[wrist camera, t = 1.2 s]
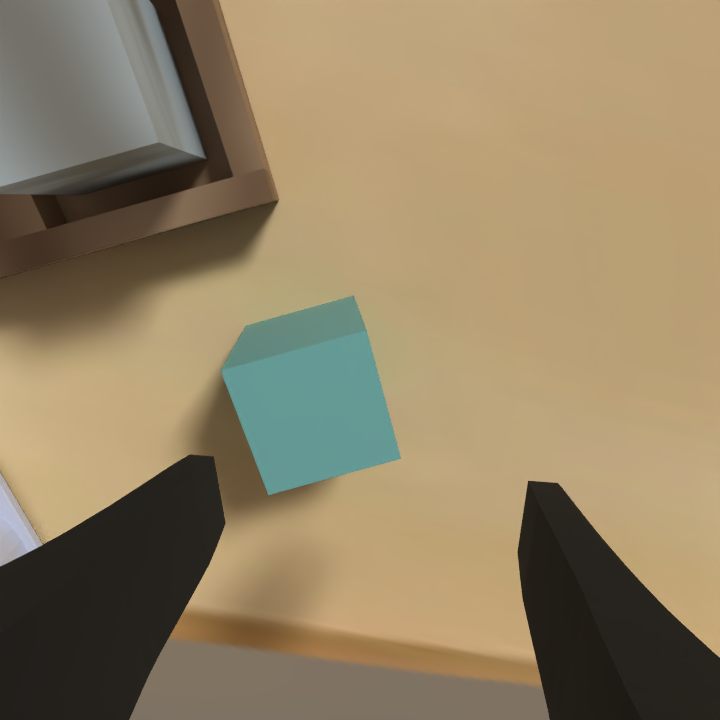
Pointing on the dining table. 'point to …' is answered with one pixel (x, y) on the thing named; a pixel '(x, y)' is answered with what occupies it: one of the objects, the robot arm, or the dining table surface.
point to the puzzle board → (163, 196)
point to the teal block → (310, 396)
